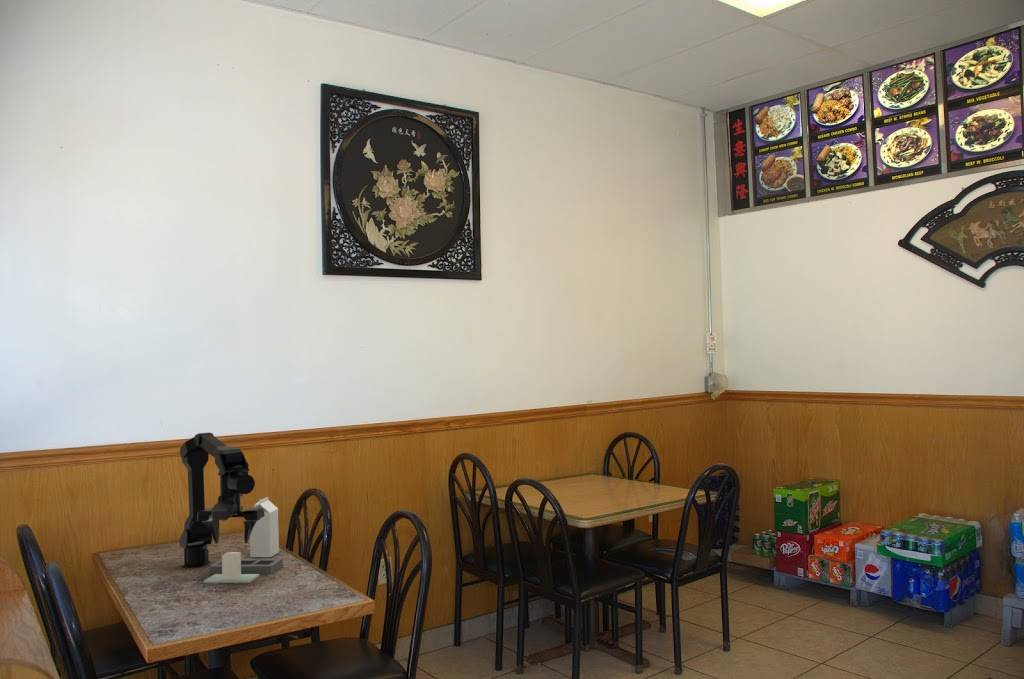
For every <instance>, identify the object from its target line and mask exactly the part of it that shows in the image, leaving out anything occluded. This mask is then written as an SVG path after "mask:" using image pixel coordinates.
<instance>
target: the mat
mask: <svg viewBox="0 0 1024 679" xmlns="http://www.w3.org/2000/svg"><path fill="white" fill-rule="evenodd" d="M258 577H260V574H241V576H239V577H238V578H236V579H222V574H212V575H211V576H210V577H208V578H206V579H205V580H203V583H204V584H215V583H216V584H223V583H224V584H229V583H230V584H233V583H234V584H235V583H236V584H240V583H241V584H249V583H251V582H253V581H255V580H256V579H258Z"/></svg>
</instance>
